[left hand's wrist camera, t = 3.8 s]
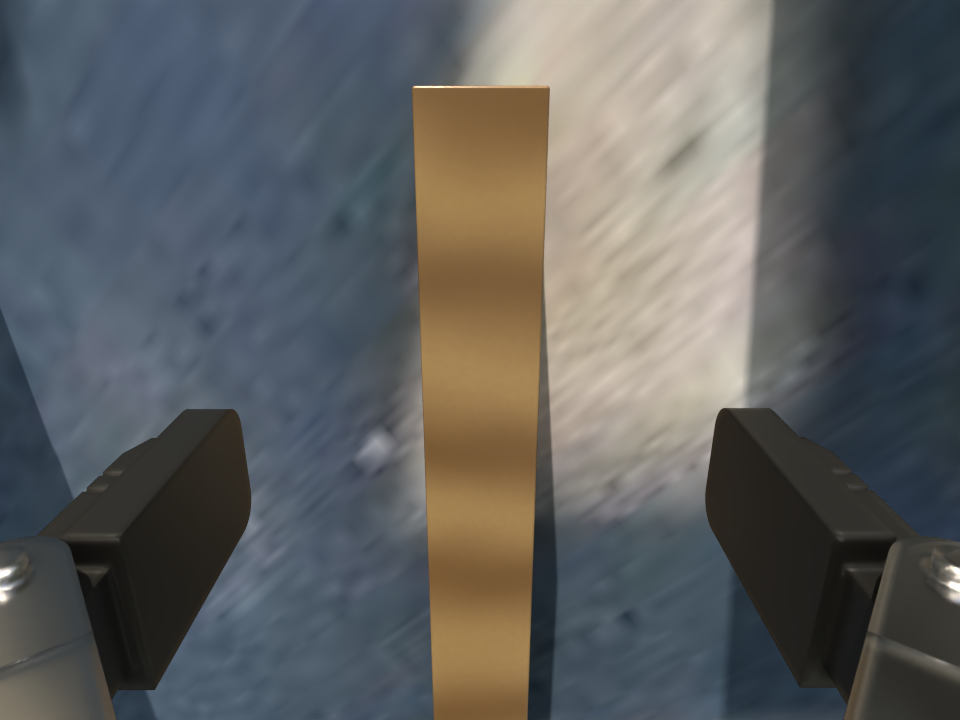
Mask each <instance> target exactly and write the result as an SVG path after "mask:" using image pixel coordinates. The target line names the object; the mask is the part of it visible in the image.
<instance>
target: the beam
mask: <svg viewBox="0 0 960 720" xmlns="http://www.w3.org/2000/svg"><path fill="white" fill-rule="evenodd" d="M549 95H550V88H549V86H413V87H412V104H413V133H414V161H415V190H416V219H417V248H418V277H419V305H420V334H421V363H422V392H423V421H424V449H425V478H426V507H427V536H428V565H429V593H430V622H431V651H432V680H433V709H434V720H528V692H529V663H530V635H531V607H532V578H533V550H534V521H535V493H536V465H537V436H538V408H539V379H540V351H541V322H542V294H543V266H544V237H545V209H546V180H547V152H548V123H549Z"/></svg>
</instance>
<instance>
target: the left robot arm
mask: <svg viewBox="0 0 960 720" xmlns="http://www.w3.org/2000/svg"><path fill="white" fill-rule="evenodd" d="M705 503H706V512H707V517H708V521H709V524H710V527H711V529H712V531H713V532H714V534H715V536H716V538H717V540H718V541H719V543H720V545H721V547H722V549H723V550H724V552H725V554H726V556H727V558H728V559H729V561H730V563H731V565H732V567H733V568H734V570H735V572H736V574H737V575H738V577H739V579H740V581H741V583H742V584H743V586H744V588H745V590H746V592H747V593H748V595H749V597H750V599H751V601H752V602H753V604H754V606H755V608H756V610H757V611H758V613H759V615H760V617H761V619H762V620H763V622H764V624H765V626H766V628H767V629H768V631H769V633H770V635H771V636H772V638H773V640H774V642H775V644H776V645H777V647H778V649H779V651H780V653H781V654H782V656H783V658H784V660H785V662H786V663H787V665H788V667H789V669H790V671H791V672H792V674H793V676H794V678H795V680H796V681H797V683H798V685H799V687H800V688H837V689H838V691H839V692H840V694H841V696H842V697H843V699H844V700H845V702H846V704H847V708H846V711H845V715H844V719H843V720H960V543H959V542H956V541H952V540H947V539H942V538H936V537H925V536H919V535H918V534H917V533H916V532H915V531H914V530H913V529H912V528H911V527H910V526H909V525H908V524H907V523H906V522H905V521H904V520H903V519H902V518H901V517H900V516H899V515H897V514H896V513H895V512H894V511H893V510H892V509H891V508H890V507H889V506H888V505H887V504H886V503H885V502H884V501H883V500H882V499H881V498H880V497H879V496H878V495H877V494H876V493H875V492H874V491H873V490H868V486H867V485H866V484H865V483H864V482H863V481H862V480H861V479H860V478H859V477H858V476H857V475H853V474H852V470H851V469H850V468H849V467H848V466H846V465H845V464H844V463H843V462H842V461H841V460H840V459H839V458H838V457H837V456H836V455H835V454H834V453H833V452H831V451H829V450H827V449H825V448H824V447H822V446H820V445H818V444H816V443H814V442H812V441H811V440H809V439H807V438H805V437H799V436H798V435H797V434H796V433H795V432H794V431H793V430H792V429H791V428H790V427H789V426H788V425H787V424H786V423H785V422H784V421H783V420H782V419H781V418H780V417H779V416H778V415H777V414H776V413H775V412H774V411H773V410H772V409H769V408H723V409H722V410H721V411H720V412H719V413H718V416H717V419H716V423H715V429H714V436H713V443H712V450H711V457H710V464H709V471H708V478H707V485H706V494H705ZM250 510H251V489H250V482H249V475H248V469H247V462H246V455H245V448H244V441H243V434H242V427H241V422H240V418H239V416H238V414H237V412H236V411H235V410H233V409H187V410H184V411H183V412H182V413H181V414H180V415H179V416H178V417H177V418H176V419H175V420H174V421H173V422H172V423H171V424H170V425H169V426H168V427H167V428H166V429H165V430H164V431H163V432H162V433H161V434H160V435H159V436H158V437H157V438H151V439H149V440H147V441H145V442H144V443H142V444H140V445H138V446H136V447H134V448H132V449H131V450H129V451H127V452H125V453H123V454H122V455H121V456H120V457H119V458H118V459H117V460H115V461H114V462H113V463H112V464H111V465H110V466H109V467H108V468H107V469H106V470H105V471H104V472H103V476H99V477H98V478H97V479H95V480H94V481H93V482H92V483H91V484H90V485H89V486H88V487H87V491H86V492H82V493H81V494H80V495H79V496H78V497H77V498H76V499H74V500H73V501H72V502H71V503H70V504H69V505H68V506H67V507H66V508H65V509H64V510H63V511H62V512H61V513H60V514H59V515H58V516H57V517H56V518H55V519H53V520H52V521H51V522H50V523H49V524H48V525H47V526H46V527H45V528H44V529H43V530H42V531H41V532H40V533H39V534H38V535H37V536H35V537H24V538H18V539H13V540H8V541H4V542H1V543H0V720H117V719H116V715H115V711H114V708H113V704H112V698H113V697H114V695H115V694H116V692H117V690H155V689H156V687H157V685H158V683H159V682H160V680H161V678H162V676H163V674H164V673H165V671H166V669H167V667H168V666H169V664H170V662H171V660H172V658H173V657H174V655H175V653H176V651H177V650H178V648H179V646H180V644H181V643H182V641H183V639H184V637H185V635H186V634H187V632H188V630H189V628H190V627H191V625H192V623H193V621H194V619H195V618H196V616H197V614H198V612H199V611H200V609H201V607H202V605H203V604H204V602H205V600H206V598H207V596H208V595H209V593H210V591H211V589H212V588H213V586H214V584H215V582H216V581H217V579H218V577H219V575H220V573H221V572H222V570H223V568H224V566H225V565H226V563H227V561H228V559H229V557H230V556H231V554H232V552H233V550H234V549H235V547H236V545H237V543H238V542H239V540H240V538H241V536H242V534H243V533H244V531H245V529H246V526H247V524H248V520H249V516H250Z"/></svg>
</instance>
